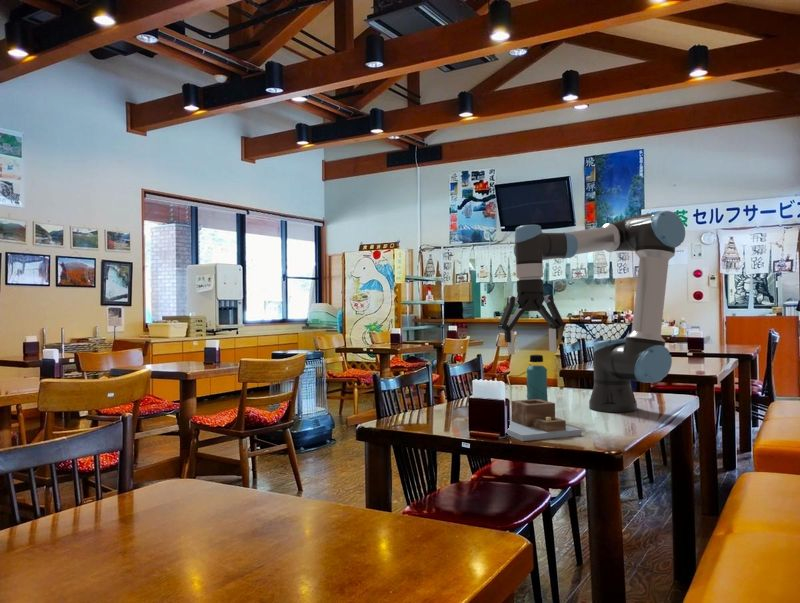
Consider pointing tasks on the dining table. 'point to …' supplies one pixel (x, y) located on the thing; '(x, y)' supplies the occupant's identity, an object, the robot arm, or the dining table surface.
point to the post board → (539, 432)
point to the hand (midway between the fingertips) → (532, 352)
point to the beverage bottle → (536, 380)
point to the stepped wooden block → (536, 415)
